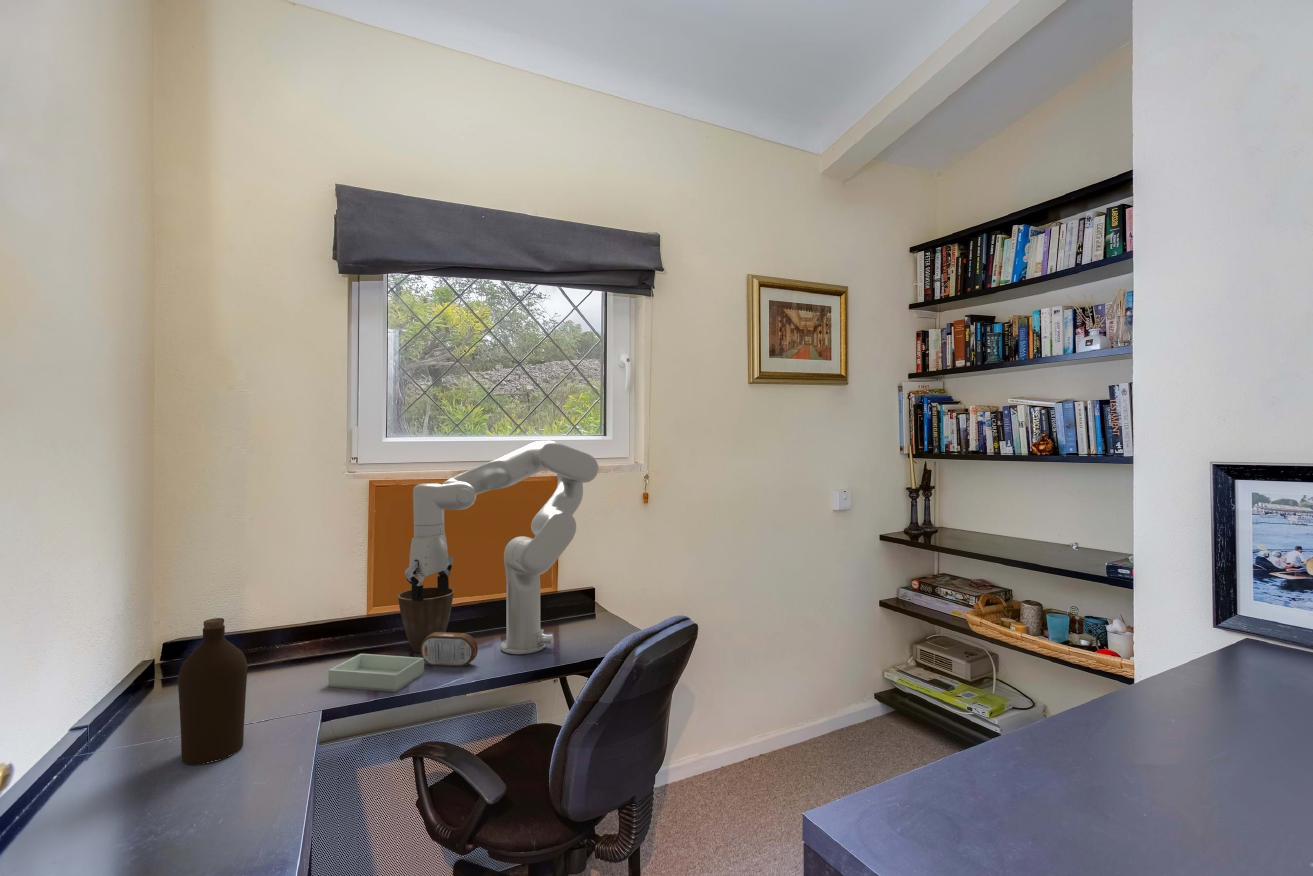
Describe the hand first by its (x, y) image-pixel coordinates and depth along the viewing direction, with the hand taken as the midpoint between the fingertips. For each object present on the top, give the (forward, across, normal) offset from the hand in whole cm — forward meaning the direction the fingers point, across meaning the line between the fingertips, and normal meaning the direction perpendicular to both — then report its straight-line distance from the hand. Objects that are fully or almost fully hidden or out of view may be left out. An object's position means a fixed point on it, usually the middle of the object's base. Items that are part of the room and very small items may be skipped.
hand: (430, 595), depth 157 cm
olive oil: (+18, +50, -9) cm, 53 cm away
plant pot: (+19, -11, -11) cm, 25 cm away
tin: (+19, -2, +3) cm, 19 cm away
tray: (+18, +12, -7) cm, 23 cm away
